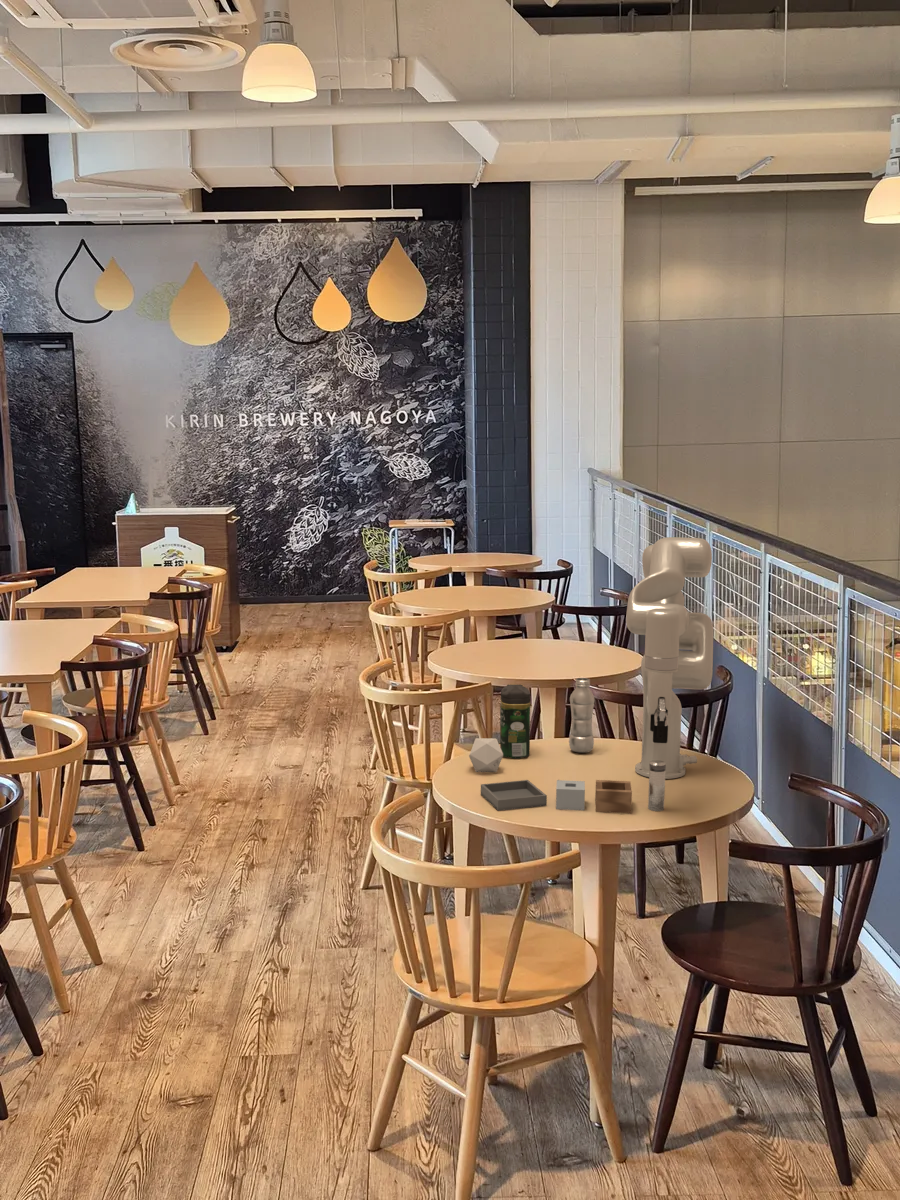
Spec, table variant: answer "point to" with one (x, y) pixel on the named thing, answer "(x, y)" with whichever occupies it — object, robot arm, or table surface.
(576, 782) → the small block
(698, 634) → the robot arm
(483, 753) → the die
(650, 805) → the spice jar
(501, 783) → the tray
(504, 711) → the coffee jar
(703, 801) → the table surface
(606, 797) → the block
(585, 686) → the plastic bottle
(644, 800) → the table surface
